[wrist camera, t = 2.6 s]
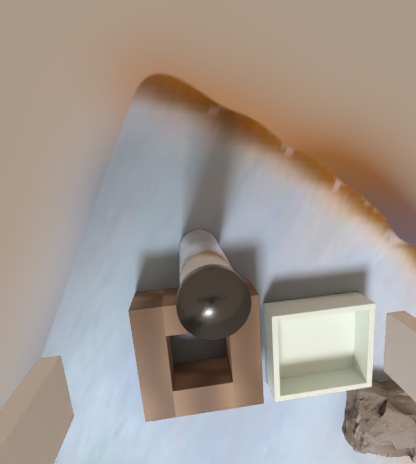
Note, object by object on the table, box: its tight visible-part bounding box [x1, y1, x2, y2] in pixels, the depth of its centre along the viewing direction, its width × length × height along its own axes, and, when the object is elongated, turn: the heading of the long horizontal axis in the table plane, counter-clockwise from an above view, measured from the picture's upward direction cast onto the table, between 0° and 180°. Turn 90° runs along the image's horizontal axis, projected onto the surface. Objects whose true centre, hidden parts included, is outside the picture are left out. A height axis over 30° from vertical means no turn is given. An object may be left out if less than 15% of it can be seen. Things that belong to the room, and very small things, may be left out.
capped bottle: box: [176, 229, 251, 340], centre depth 23 cm, size 4×4×13 cm
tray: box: [263, 292, 375, 402], centre depth 31 cm, size 11×10×3 cm
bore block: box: [129, 279, 264, 422], centre depth 29 cm, size 12×12×4 cm
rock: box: [342, 380, 416, 463], centre depth 34 cm, size 14×9×4 cm
